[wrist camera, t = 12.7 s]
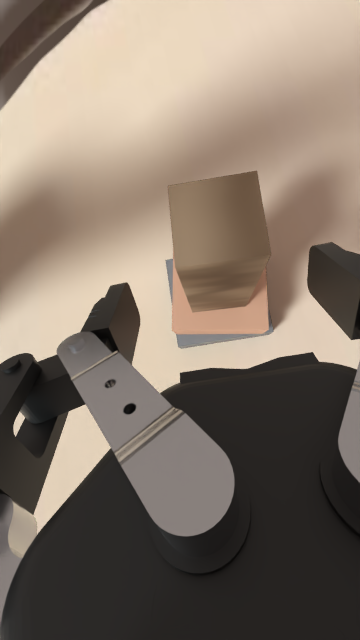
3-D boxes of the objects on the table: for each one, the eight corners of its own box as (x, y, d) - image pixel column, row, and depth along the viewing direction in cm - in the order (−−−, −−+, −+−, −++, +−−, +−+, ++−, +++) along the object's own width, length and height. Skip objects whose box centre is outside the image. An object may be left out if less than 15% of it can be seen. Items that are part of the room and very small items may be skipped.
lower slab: (182, 348, 28) (178, 346, 25) (170, 270, 30) (165, 260, 27) (267, 335, 27) (273, 331, 24) (250, 255, 29) (254, 242, 26)
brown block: (192, 312, 22) (175, 267, 13) (187, 263, 23) (167, 185, 13) (245, 306, 22) (271, 254, 12) (238, 256, 23) (256, 170, 13)
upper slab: (177, 334, 25) (171, 330, 22) (178, 256, 27) (173, 243, 24) (262, 333, 24) (268, 329, 21) (259, 252, 26) (264, 238, 23)
